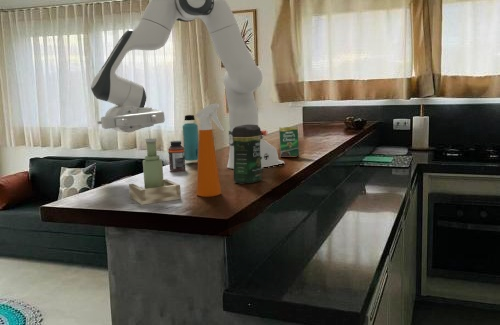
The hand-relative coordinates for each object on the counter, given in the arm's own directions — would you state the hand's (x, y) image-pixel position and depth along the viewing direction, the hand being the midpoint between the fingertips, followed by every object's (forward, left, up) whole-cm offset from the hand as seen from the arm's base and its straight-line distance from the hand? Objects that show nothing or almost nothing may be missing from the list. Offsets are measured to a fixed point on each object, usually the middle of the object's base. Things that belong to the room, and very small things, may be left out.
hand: (140, 120), depth 154 cm
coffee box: (-71, -22, -22) cm, 77 cm away
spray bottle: (-13, +24, -22) cm, 35 cm away
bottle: (+2, +17, -20) cm, 27 cm away
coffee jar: (-31, +13, -22) cm, 40 cm away
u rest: (+2, +17, -21) cm, 27 cm away
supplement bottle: (-21, -24, -22) cm, 39 cm away
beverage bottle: (-33, -38, -22) cm, 55 cm away
